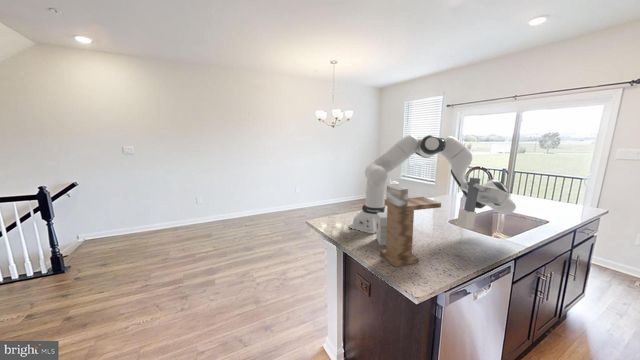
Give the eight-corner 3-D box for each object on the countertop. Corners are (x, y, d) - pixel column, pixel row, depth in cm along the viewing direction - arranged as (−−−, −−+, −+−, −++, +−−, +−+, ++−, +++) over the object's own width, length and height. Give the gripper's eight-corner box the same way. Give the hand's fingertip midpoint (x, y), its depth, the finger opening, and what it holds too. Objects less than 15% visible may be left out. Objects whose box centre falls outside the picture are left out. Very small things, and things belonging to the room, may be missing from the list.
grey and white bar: (473, 177, 118) (465, 176, 117) (482, 178, 113) (474, 178, 112) (464, 225, 121) (456, 224, 120) (473, 228, 116) (465, 228, 115)
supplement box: (375, 238, 133) (376, 212, 131) (392, 238, 133) (393, 212, 130) (379, 245, 124) (380, 217, 122) (397, 245, 124) (398, 217, 121)
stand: (419, 248, 120) (423, 182, 115) (437, 259, 109) (442, 187, 104) (379, 254, 114) (381, 185, 109) (394, 266, 103) (396, 190, 98)
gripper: (474, 186, 129) (456, 175, 125) (513, 194, 110) (494, 181, 106) (468, 197, 129) (450, 185, 125) (506, 206, 110) (487, 194, 106)
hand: (470, 183), depth 115 cm, fingers closed on grey and white bar, 3 cm apart
